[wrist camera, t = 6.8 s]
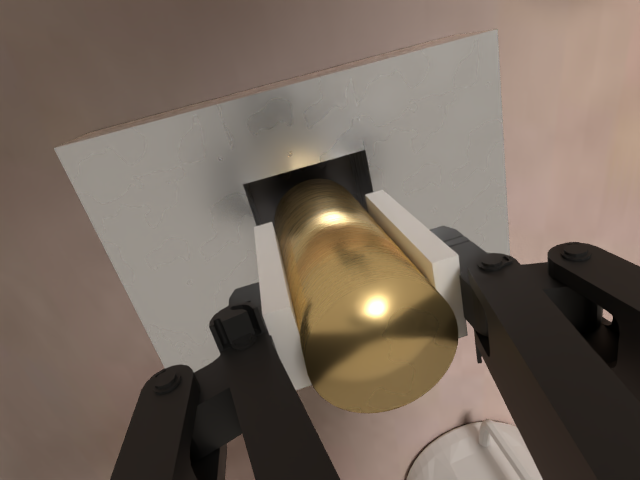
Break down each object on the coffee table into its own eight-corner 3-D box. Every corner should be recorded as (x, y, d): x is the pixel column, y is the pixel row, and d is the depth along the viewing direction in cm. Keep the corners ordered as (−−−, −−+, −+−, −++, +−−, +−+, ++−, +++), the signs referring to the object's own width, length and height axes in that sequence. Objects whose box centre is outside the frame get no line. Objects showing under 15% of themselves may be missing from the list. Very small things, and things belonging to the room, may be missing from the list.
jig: (87, 132, 20) (53, 148, 16) (452, 35, 21) (497, 29, 17) (182, 337, 24) (173, 384, 21) (472, 248, 26) (511, 279, 22)
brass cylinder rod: (263, 192, 19) (286, 309, 10) (349, 168, 19) (449, 259, 10) (287, 269, 20) (325, 431, 11) (365, 246, 21) (465, 386, 12)
